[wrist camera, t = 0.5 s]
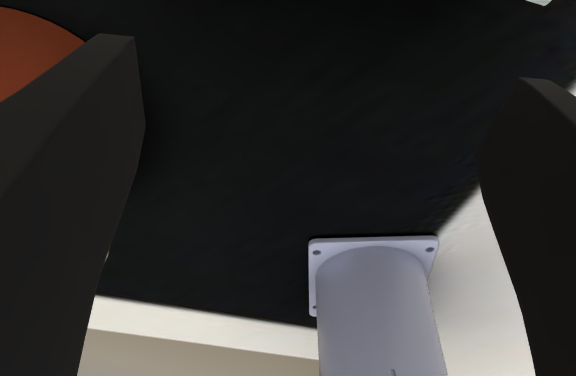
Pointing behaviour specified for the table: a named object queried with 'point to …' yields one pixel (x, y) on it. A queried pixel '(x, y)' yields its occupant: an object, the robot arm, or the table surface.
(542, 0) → the hard drive
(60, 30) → the brown and beige cylinder
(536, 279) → the robot arm
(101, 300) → the table surface
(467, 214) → the table surface
